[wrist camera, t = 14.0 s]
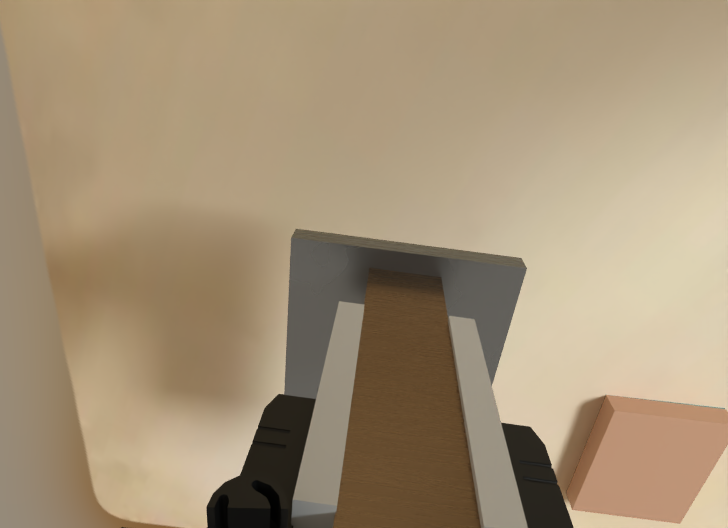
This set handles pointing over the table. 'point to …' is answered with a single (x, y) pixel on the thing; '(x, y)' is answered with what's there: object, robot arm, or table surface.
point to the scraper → (399, 367)
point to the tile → (648, 458)
